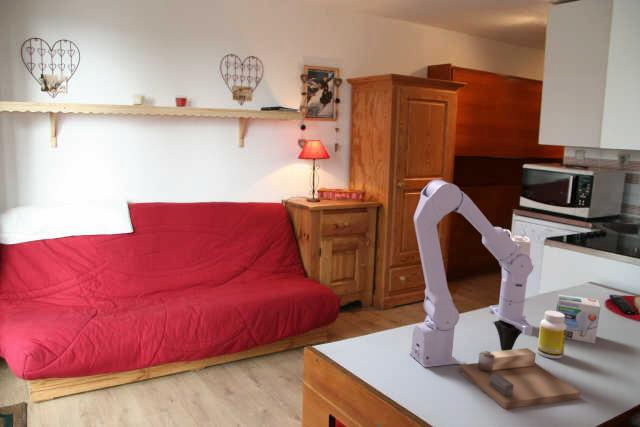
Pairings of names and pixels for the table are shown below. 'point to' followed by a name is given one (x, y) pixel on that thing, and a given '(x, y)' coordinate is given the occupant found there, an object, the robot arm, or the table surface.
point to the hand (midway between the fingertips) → (506, 350)
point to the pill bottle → (552, 335)
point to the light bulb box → (579, 317)
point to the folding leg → (506, 359)
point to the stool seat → (520, 385)
